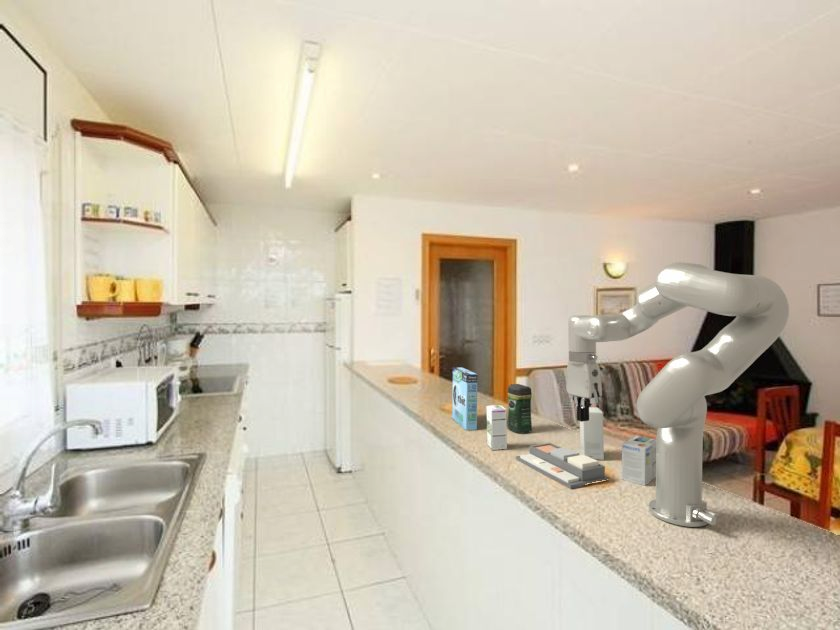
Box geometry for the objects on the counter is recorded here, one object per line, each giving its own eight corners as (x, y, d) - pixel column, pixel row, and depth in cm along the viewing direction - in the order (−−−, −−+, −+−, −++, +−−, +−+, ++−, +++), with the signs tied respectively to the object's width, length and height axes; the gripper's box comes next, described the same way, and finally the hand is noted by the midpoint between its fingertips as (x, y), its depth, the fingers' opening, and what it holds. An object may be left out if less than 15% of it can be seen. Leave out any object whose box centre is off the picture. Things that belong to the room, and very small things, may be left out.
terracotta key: (562, 458, 141) (562, 450, 141) (546, 460, 138) (546, 453, 138) (549, 452, 146) (549, 445, 146) (534, 454, 144) (534, 447, 144)
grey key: (579, 461, 134) (579, 453, 134) (563, 464, 131) (563, 455, 131) (565, 455, 139) (565, 447, 139) (550, 457, 137) (550, 449, 137)
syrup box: (507, 449, 153) (507, 408, 153) (491, 450, 152) (491, 409, 152) (501, 444, 159) (501, 404, 159) (486, 445, 158) (486, 405, 158)
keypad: (609, 480, 126) (609, 466, 126) (570, 488, 120) (570, 474, 120) (550, 453, 149) (550, 441, 149) (516, 459, 143) (515, 447, 143)
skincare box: (604, 460, 142) (604, 412, 142) (582, 459, 143) (582, 411, 143) (598, 452, 150) (599, 406, 150) (578, 451, 151) (578, 406, 151)
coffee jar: (535, 432, 173) (535, 385, 173) (518, 435, 170) (518, 387, 170) (521, 426, 182) (521, 382, 182) (504, 428, 179) (504, 383, 179)
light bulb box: (634, 469, 134) (634, 434, 134) (658, 475, 129) (658, 439, 129) (620, 479, 127) (621, 442, 126) (645, 486, 122) (646, 447, 122)
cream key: (598, 469, 127) (598, 461, 127) (582, 472, 124) (582, 464, 124) (583, 462, 132) (583, 454, 132) (567, 465, 130) (567, 457, 130)
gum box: (452, 419, 195) (451, 367, 195) (463, 418, 196) (462, 367, 196) (466, 431, 176) (465, 374, 176) (478, 430, 177) (478, 373, 177)
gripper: (612, 359, 123) (613, 425, 123) (574, 354, 136) (574, 413, 136) (591, 361, 120) (592, 428, 120) (554, 356, 133) (555, 416, 133)
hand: (583, 420), depth 128 cm, fingers closed
